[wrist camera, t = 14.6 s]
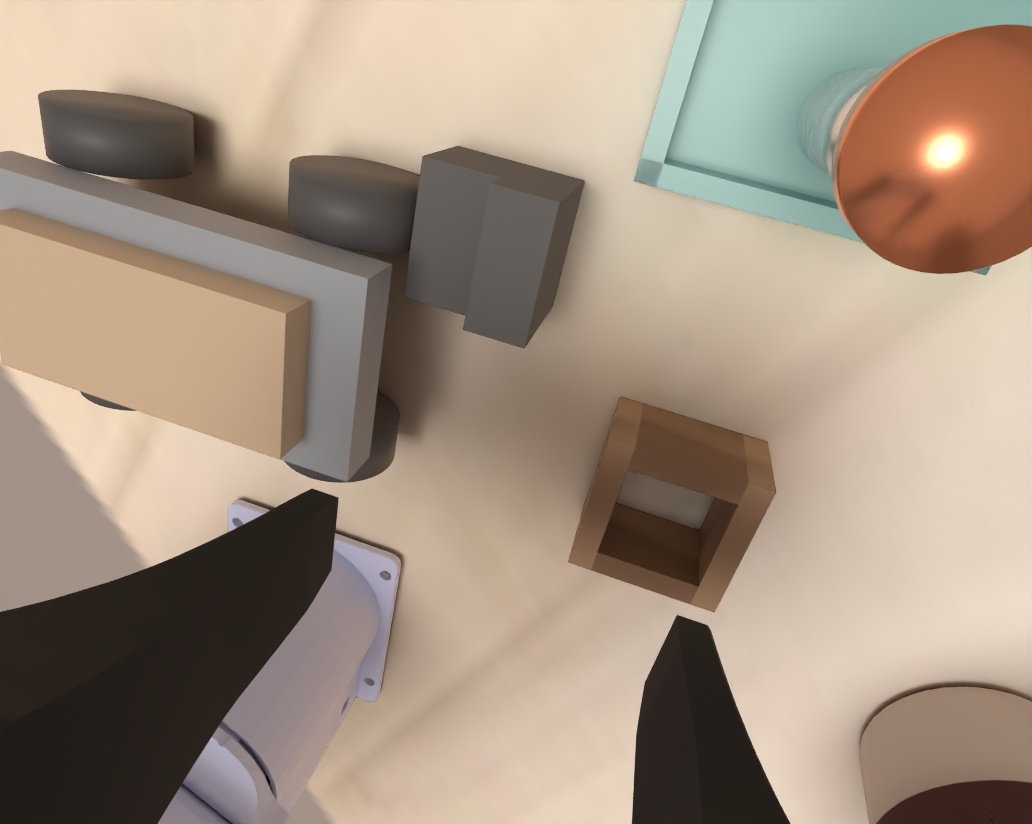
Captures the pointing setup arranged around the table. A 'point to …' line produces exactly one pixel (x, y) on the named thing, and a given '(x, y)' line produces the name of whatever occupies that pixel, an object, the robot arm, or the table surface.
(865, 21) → the tray
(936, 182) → the pin
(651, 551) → the pin socket
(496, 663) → the table surface
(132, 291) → the trolley
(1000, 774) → the coffee cup
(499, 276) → the block
